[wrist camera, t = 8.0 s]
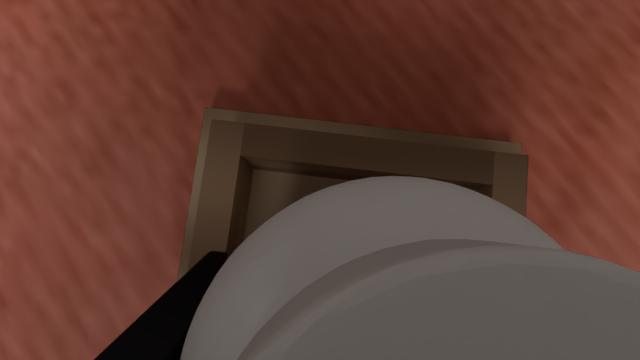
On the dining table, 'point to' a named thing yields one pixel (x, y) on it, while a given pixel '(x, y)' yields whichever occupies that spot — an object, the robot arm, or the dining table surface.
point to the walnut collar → (323, 170)
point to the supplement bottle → (412, 284)
